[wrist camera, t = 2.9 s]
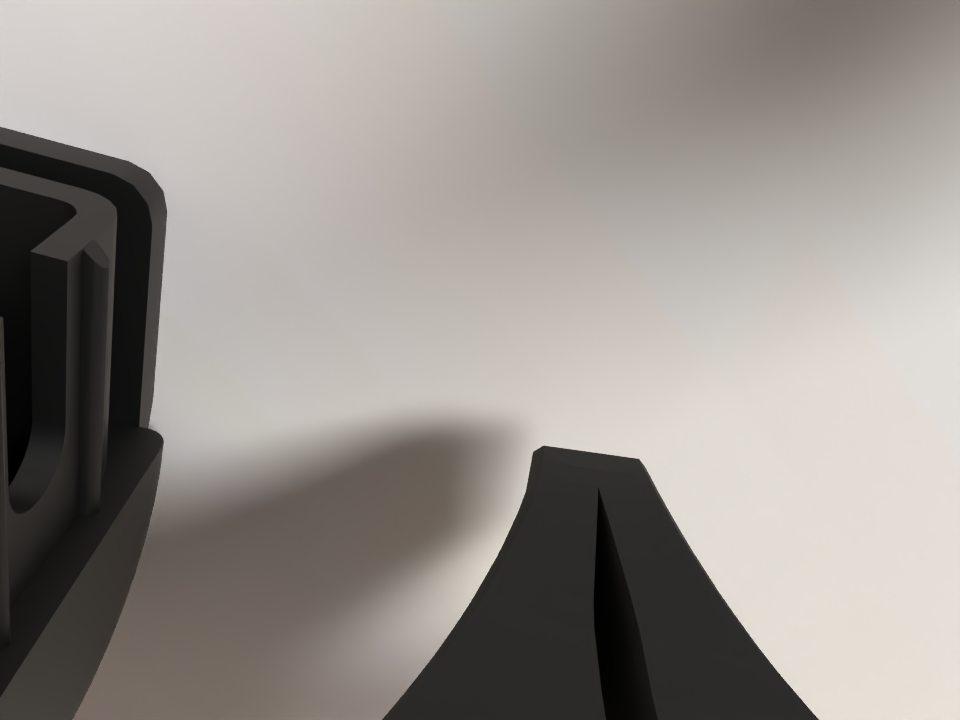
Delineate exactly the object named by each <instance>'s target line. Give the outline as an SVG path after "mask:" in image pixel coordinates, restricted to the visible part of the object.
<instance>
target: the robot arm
mask: <svg viewBox="0 0 960 720" xmlns="http://www.w3.org/2000/svg"><path fill="white" fill-rule="evenodd" d="M382 720H819V719H818V718H817V717H816V716H815V715H814V714H813V713H812V712H811V710H810V709H809V708H808V707H807V706H806V705H805V703H804V702H803V701H802V700H801V699H800V698H799V696H798V695H797V694H796V693H795V692H794V691H793V689H792V688H791V687H790V686H789V685H788V684H787V682H786V681H785V680H784V679H783V678H782V677H781V675H780V674H779V673H778V672H777V670H776V669H775V668H774V667H773V665H772V664H771V663H770V662H769V660H768V659H767V658H766V656H765V655H764V654H763V653H762V651H761V650H760V649H759V647H758V646H757V645H756V644H755V642H754V641H753V639H752V638H751V637H750V635H749V634H748V633H747V631H746V630H745V628H744V627H743V626H742V624H741V623H740V622H739V620H738V619H737V617H736V616H735V615H734V613H733V612H732V610H731V609H730V608H729V606H728V605H727V603H726V602H725V600H724V599H723V597H722V596H721V594H720V593H719V592H718V590H717V589H716V587H715V585H714V584H713V582H712V581H711V579H710V578H709V576H708V575H707V573H706V571H705V570H704V568H703V567H702V565H701V564H700V562H699V561H698V559H697V557H696V556H695V554H694V553H693V551H692V550H691V548H690V546H689V545H688V543H687V541H686V540H685V538H684V536H683V535H682V533H681V531H680V530H679V528H678V526H677V524H676V523H675V521H674V519H673V517H672V516H671V514H670V512H669V510H668V509H667V507H666V505H665V503H664V501H663V500H662V498H661V496H660V494H659V492H658V491H657V489H656V487H655V485H654V483H653V481H652V479H651V477H650V475H649V474H648V472H647V470H646V468H645V466H644V465H643V464H642V462H641V461H640V460H639V459H635V458H628V457H621V456H614V455H607V454H599V453H592V452H585V451H578V450H571V449H563V448H556V447H549V446H542V447H541V448H539V449H537V450H535V451H534V452H533V456H532V462H531V467H530V472H529V478H528V483H527V489H526V493H525V495H524V498H523V501H522V504H521V506H520V509H519V511H518V514H517V516H516V518H515V520H514V522H513V525H512V527H511V529H510V531H509V533H508V535H507V537H506V540H505V542H504V544H503V546H502V548H501V550H500V552H499V554H498V556H497V558H496V560H495V561H494V563H493V565H492V566H491V568H490V570H489V572H488V573H487V575H486V577H485V579H484V580H483V582H482V584H481V586H480V587H479V589H478V591H477V593H476V594H475V596H474V598H473V599H472V601H471V603H470V604H469V606H468V607H467V609H466V610H465V612H464V613H463V615H462V616H461V618H460V620H459V621H458V622H457V624H456V625H455V627H454V628H453V630H452V631H451V633H450V634H449V636H448V637H447V638H446V640H445V641H444V643H443V644H442V645H441V647H440V648H439V650H438V651H437V652H436V654H435V655H434V656H433V658H432V659H431V660H430V662H429V663H428V664H427V665H426V667H425V668H424V669H423V671H422V672H421V673H420V674H419V676H418V677H417V678H416V679H415V681H414V682H413V683H412V685H411V686H410V687H409V688H408V690H407V691H406V692H405V693H404V695H403V696H402V697H401V698H400V699H399V701H398V702H397V703H396V704H395V705H394V707H393V708H392V709H391V710H390V711H389V712H388V714H387V715H386V716H385V717H384V718H383V719H382Z"/></svg>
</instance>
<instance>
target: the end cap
mask: <svg viewBox="0 0 960 720" xmlns="http://www.w3.org/2000/svg"><path fill="white" fill-rule="evenodd" d="M166 220H167V209H166V203H165V198H164V193H163V190H162V189H161V188H160V186H159V185H158V184H157V182H156V181H155V180H154V178H153V177H152V176H151V174H150V173H149V172H147V171H146V170H144V169H142V168H140V167H138V166H136V165H134V164H133V163H131V162H129V161H125V160H122V159H118V158H114V157H110V156H107V155H103V154H99V153H96V152H92V151H88V150H84V149H81V148H77V147H73V146H69V145H66V144H62V143H58V142H54V141H51V140H47V139H43V138H40V137H36V136H32V135H28V134H25V133H21V132H17V131H13V130H10V129H6V128H2V127H0V720H72V719H73V717H74V715H75V713H76V712H77V710H78V708H79V706H80V704H81V702H82V700H83V698H84V696H85V694H86V692H87V690H88V688H89V686H90V684H91V682H92V680H93V678H94V676H95V673H96V671H97V669H98V667H99V665H100V662H101V660H102V658H103V656H104V654H105V651H106V649H107V647H108V644H109V642H110V639H111V637H112V634H113V632H114V629H115V627H116V624H117V622H118V619H119V617H120V614H121V612H122V609H123V606H124V604H125V601H126V598H127V595H128V592H129V589H130V586H131V583H132V581H133V578H134V575H135V572H136V568H137V565H138V562H139V558H140V555H141V552H142V548H143V545H144V542H145V538H146V534H147V530H148V526H149V522H150V518H151V514H152V510H153V506H154V501H155V496H156V491H157V485H158V480H159V475H160V468H161V460H162V452H163V444H164V441H163V438H162V436H161V435H160V434H159V433H157V432H156V431H153V430H151V429H148V426H149V420H150V414H151V408H152V402H153V393H154V380H155V366H156V353H157V340H158V327H159V313H160V300H161V287H162V273H163V260H164V247H165V234H166Z"/></svg>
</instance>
